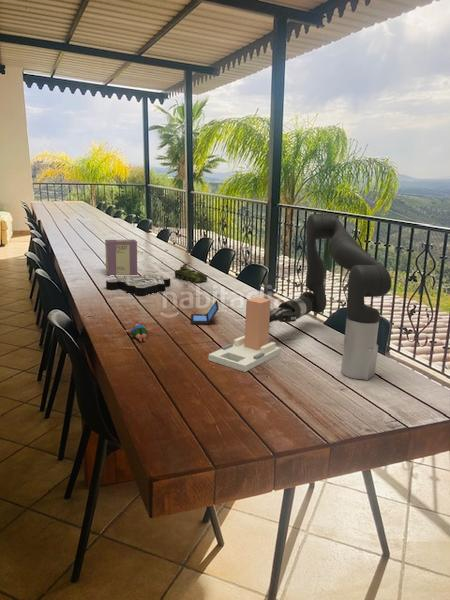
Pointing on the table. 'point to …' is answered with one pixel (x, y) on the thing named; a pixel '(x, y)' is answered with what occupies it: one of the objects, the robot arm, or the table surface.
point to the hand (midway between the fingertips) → (267, 319)
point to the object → (204, 316)
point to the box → (121, 257)
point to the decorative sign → (139, 284)
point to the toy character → (139, 331)
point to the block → (257, 322)
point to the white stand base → (244, 355)
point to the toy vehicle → (190, 274)
